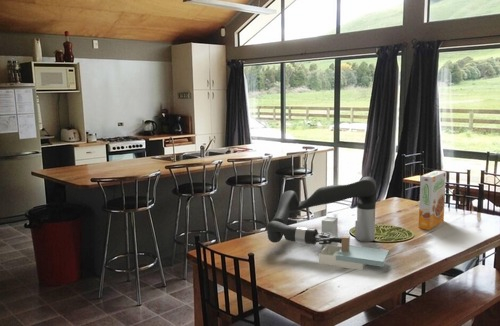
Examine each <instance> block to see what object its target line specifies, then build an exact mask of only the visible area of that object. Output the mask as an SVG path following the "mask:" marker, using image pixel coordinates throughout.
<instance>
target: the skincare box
mask: <svg viewBox="0 0 500 326" xmlns="http://www.w3.org/2000/svg"><path fill="white" fill-rule="evenodd" d="M338 224H339V222H338V217H332V216H331V217H330V216H326V217H324V218H323V219H322V220H321V233H325V234H326V232H329V233H332V234H334V236H335V237H339V236H338V235H339V231H338V226H339V225H338ZM338 244H339V243H337V242H334V243H331V244H322V245H321V249H322V250H323V249H324V248H325V246H326V245H334V246H339V245H338Z"/></svg>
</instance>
